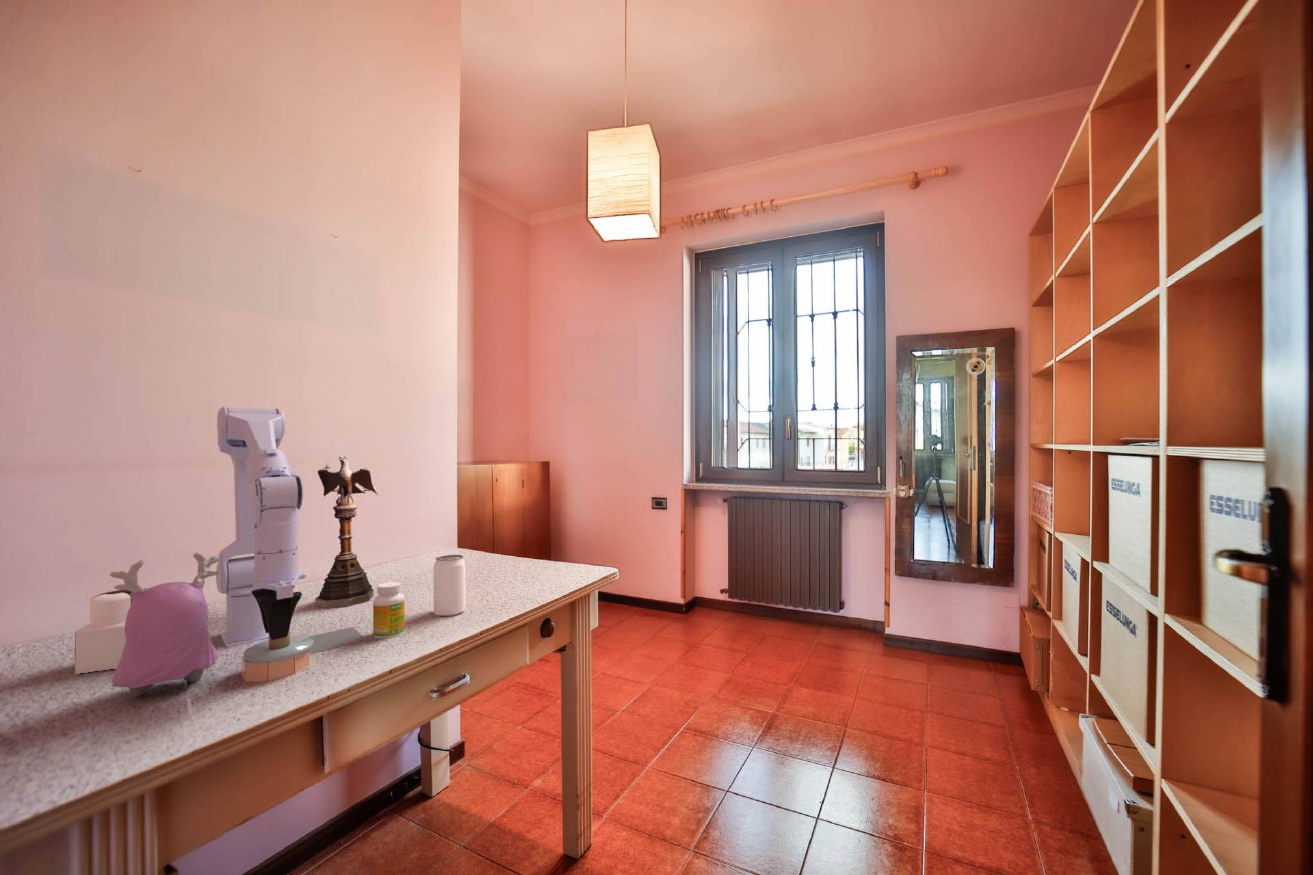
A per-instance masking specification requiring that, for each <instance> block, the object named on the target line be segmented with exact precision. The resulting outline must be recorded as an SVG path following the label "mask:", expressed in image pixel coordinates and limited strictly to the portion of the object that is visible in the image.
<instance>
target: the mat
mask: <svg viewBox="0 0 1313 875" xmlns="http://www.w3.org/2000/svg"><path fill="white" fill-rule="evenodd" d="M309 637H311V638H312V639H313V647H312V648H311V649H310V650H309V656H311V655H312V654H313V655H314V654H317V653H320V652H325V651H326V652H327V651H329V650H333V649H336V648H341V647H346V646H350V645H354V644H358V643H362V642H365V641H368V639H367V638H366V637H365V636H364V635H363V634H362V633H360V632H359V631H358V630H357V629H356V628H354V627H353V626H350V627H345V628H342V629H341V628H340V629H338V630H337V629H336V630H332V631H328V632H324V633H320V634H319V633H318V634H315V635H311V636H309Z"/></svg>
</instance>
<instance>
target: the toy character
mask: <svg viewBox="0 0 1313 875" xmlns="http://www.w3.org/2000/svg"><path fill="white" fill-rule="evenodd" d="M192 557H193V558H194V559H195V560H196V562H197V575H195V577H194V579H193V581H192V582H186V581H172V582H163V583H160V584H157V585H153V586H150V587H148V588H146V587H145V588H144V587H142V585H141V584H140V583H139V579H138V573H139V571H140V569H141V568H142V567H143V565H144V561H143V560H141V559H140V560H138V561H137V562H135V563H133V564H132V565H131V566H130V569H129V570H128V571H127V572H126V571H124V570H123V571H121V570H120V571H112V572H110V573H109V576H110V577H111V578H115V579H121V580H123V583H124V584H117V585H114V586H113V588H114V589H115V590H116V591H118V590H129V591H131V592H132V593H131V594H130V595H131V599H132V603H131V606H130V608H129V610H128V613H127V617H126V622H125V637H126V642H125V645H124V648H123V652H122V656H121V659H120V662H119V664H118V666H117V669H115V672H114V674H113V676H112V680H111V683H112V685H111V687H114V688H129V691H130V693H131V694H132V696H134V697H136V698H137V697H138V698H139V697H141V696H142V695H144V694H145V693H146V692H147V691H148V690H149V689H150V688H152V686H154V684H158V683H163V682H169V681H176V680H181V679H183V680H185V681H187V682H188V683H196V682H197V683H198V682H199V681H201V680H202V677H203V674H204V672H205V670H207V669H210V668H211V667H212V666H214V665H215V664H216V661H217V659H219V657H220V654H219V652H218V650H217V649H216V648H215V646H214V644H213V642H212V638H211V635H210V632H209V631H210V630H209V628H208V622H209V608H208V603H207V600H206V597H205V593H204V591H203V588H204V586H205V583H206V581H205V579H207V578H209V577H213V576H216V575H217V574H219V573H220V571H216V570H210V567H212V565H213V564H215V563H217V561H218V560H219V557H218V555H212V556H210V557H209V558H208V559H207V558H206V557H204V555H203V554H202V553H200V552H194V553H193V555H192Z"/></svg>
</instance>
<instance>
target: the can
mask: <svg viewBox="0 0 1313 875" xmlns="http://www.w3.org/2000/svg"><path fill="white" fill-rule="evenodd" d="M432 579H433V582H432V583H433V591H432V592H433V614H434V615H436V616H439V617H444V618H445V617H453V616H452V615H454V616H457V614H458V615H460V614H459V613H461V614H462V613H464V612H465V610H466V563H465V561H464V556H463V555H461V554H447V555H440V556H437V557H436V558H435V562H434V564H433V578H432Z"/></svg>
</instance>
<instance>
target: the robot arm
mask: <svg viewBox="0 0 1313 875" xmlns="http://www.w3.org/2000/svg"><path fill="white" fill-rule="evenodd" d="M216 427H217V428H216V429H217V446H218V447H219V452H221V453H224V454H226V455H229V456H230V458H231V461H232V464H233V475H234V477H233V478H234V479H233V480H234V481H233V482H234V517H235V520H234V522H235V540H234V541H232V542H231V543H230V544H228V545H227V546H226V547H224V548H223V549H221V550H220V551H219V553H218V555H217V556H218V557H219V560H218V561H217V562H216V563H217V564H216V570H215V571H220V573H219V574H217V575H215V576H216V577H215V578H216V579H215V580H216V589H217V591H218V592H219V593H220V594H225V595H226V630H225V631H224V632H221V633H220V637H221V639H222V641H223V644H224V646H225V648H226V647H227V648H229V647H230V648H231V647H234V646H238V645H243V644H248V643H253V642H257V641H262V640H266V639H269V636H270V638H271V640H275V639H280V638H284V637H287V635H288V632H289V629H290V630H291V624H292V619H293V616H294V612H295V610H296V607H297V605H298V603H299V601H300V600H301V598H302V596H303V592H301V591H295V592H294V588H295V585H296V584H297V583H298V582H299V580H303V579H306V578H307V573H305V572H299V571H298V570H299V568H298V567H299V565H298V564H299V563H298V562H299V558H298V556H299V554H298V553H299V549H298V547H299V546H298V545H299V544H298V543H299V539H298V538H299V537H298V536H299V533H298V529H299V528H298V527H299V525H298V523H299V521H298V520H299V519H298V516H299V511H298V510H301V508H302V505H303V500H304V487H303V483H302V482H303V481H302V479H301V476H300V475H299V474H297V473H296V472H292V470H291V467H290V464H289V460H288V457H287V455H286V454H285V453H284V452H283V451H281V450H280V449H278V448H279V446H280V444H281V442H282V440H283V438H284V435H285V433H286V416H285V413H284V412H283V410H282V409H281V408H249V407H246V408H245V407H244V408H243V407H227V406H221V408H219V409H218V411H217V421H216ZM251 554H253V555H252V556H243V555H251ZM235 556H243V557H235ZM233 557H235V558H233Z"/></svg>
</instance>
